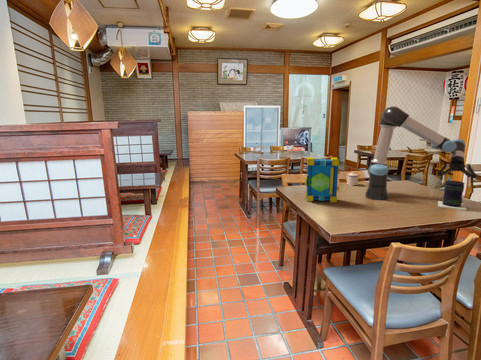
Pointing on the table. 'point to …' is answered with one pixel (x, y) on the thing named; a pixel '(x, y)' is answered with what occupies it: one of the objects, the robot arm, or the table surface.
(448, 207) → the placemat
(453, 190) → the rusty oil drum
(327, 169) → the decorative book
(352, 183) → the teacup with lid
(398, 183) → the table surface
